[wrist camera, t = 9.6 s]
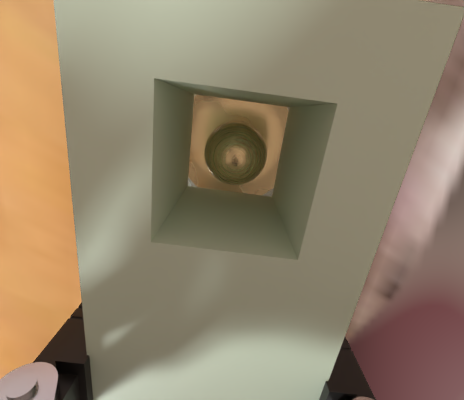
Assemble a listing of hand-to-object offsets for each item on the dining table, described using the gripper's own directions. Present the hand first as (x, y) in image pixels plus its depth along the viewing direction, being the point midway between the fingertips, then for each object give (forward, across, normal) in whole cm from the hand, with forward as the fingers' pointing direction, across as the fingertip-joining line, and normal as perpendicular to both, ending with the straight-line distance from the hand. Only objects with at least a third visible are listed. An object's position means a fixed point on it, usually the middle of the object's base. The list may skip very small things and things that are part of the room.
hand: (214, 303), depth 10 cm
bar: (+1, 0, 0) cm, 1 cm away
